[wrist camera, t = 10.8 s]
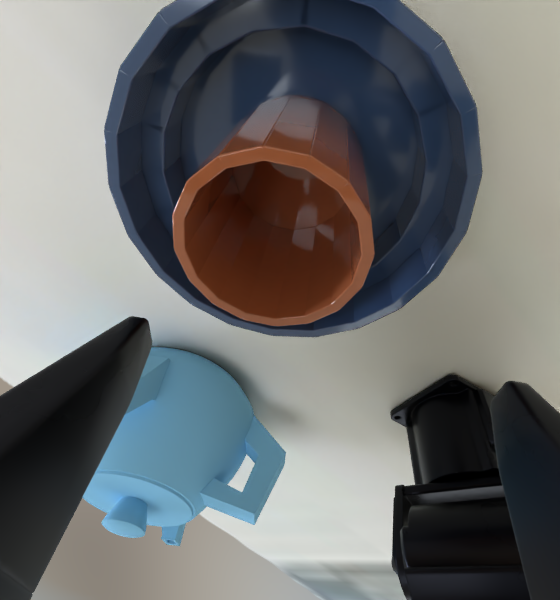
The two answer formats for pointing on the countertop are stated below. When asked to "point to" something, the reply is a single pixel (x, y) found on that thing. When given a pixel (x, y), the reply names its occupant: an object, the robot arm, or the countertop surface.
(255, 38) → the bowl
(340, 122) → the cup
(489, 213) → the countertop surface
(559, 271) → the countertop surface
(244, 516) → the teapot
